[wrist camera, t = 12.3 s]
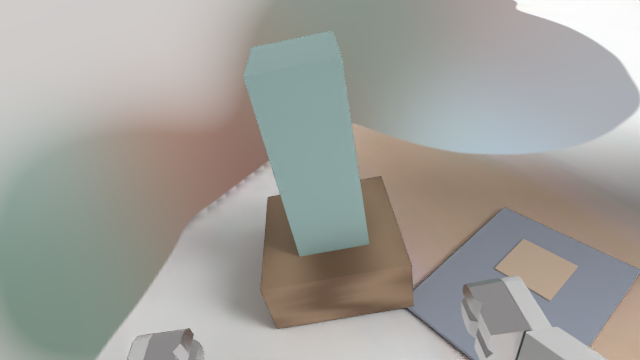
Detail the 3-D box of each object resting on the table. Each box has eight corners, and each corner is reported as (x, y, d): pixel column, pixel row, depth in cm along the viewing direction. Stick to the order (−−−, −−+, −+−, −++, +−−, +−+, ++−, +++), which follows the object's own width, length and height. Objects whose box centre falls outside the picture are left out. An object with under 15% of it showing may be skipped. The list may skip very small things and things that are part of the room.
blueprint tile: (503, 209, 30) (504, 206, 30) (640, 273, 24) (642, 269, 23) (401, 304, 25) (401, 300, 25) (541, 415, 19) (542, 412, 18)
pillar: (358, 199, 27) (332, 30, 20) (369, 244, 24) (341, 57, 17) (298, 210, 28) (251, 47, 21) (299, 256, 24) (243, 76, 17)
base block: (385, 214, 31) (380, 176, 29) (413, 306, 24) (411, 264, 22) (280, 233, 32) (267, 197, 30) (277, 328, 25) (260, 290, 22)
